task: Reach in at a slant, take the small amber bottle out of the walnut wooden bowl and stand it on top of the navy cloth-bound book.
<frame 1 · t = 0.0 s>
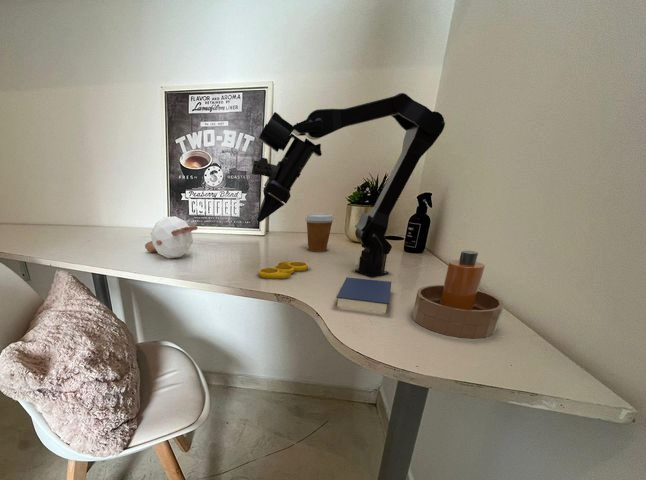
hand: (258, 218, 88), 15 cm above the table, tool tilted 35°, fingers open, 9 cm apart
wooden bowl: (451, 324, 62), on the table
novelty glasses: (283, 272, 94), on the table
book: (363, 300, 73), on the table
amber bottle: (451, 321, 62), point 1 cm above the table, touching wooden bowl
disposable coffee cup: (317, 250, 119), on the table
stuffed white mouse: (170, 257, 113), on the table
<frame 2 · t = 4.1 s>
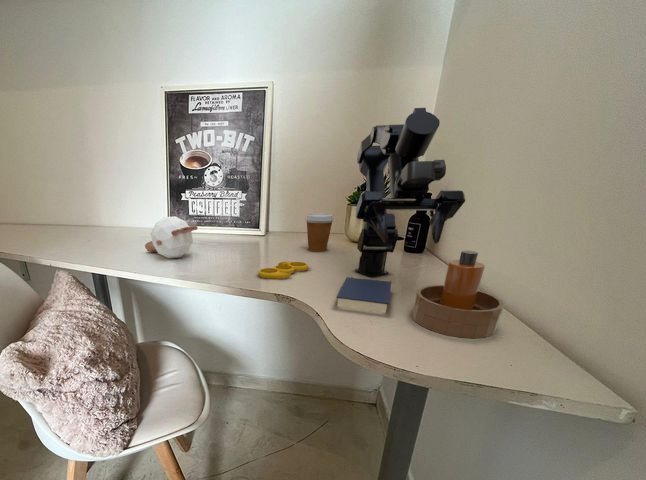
hand: (411, 242, 63), 14 cm above the table, tool tilted 45°, fingers open, 9 cm apart
nothing on the table moved.
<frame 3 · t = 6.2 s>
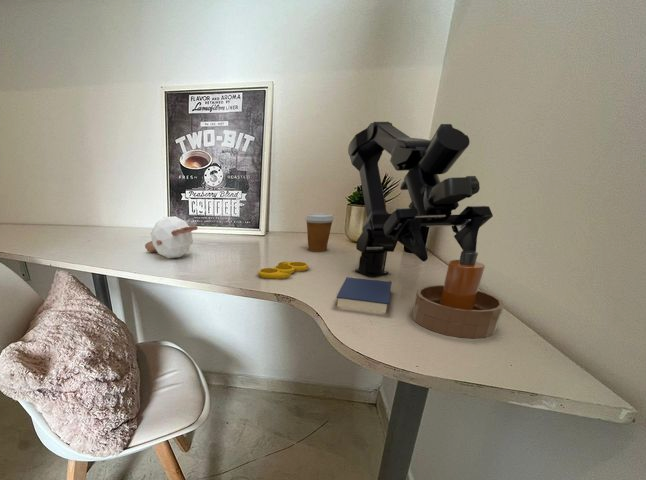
hand: (449, 259, 61), 11 cm above the table, tool tilted 45°, fingers open, 9 cm apart
nothing on the table moved.
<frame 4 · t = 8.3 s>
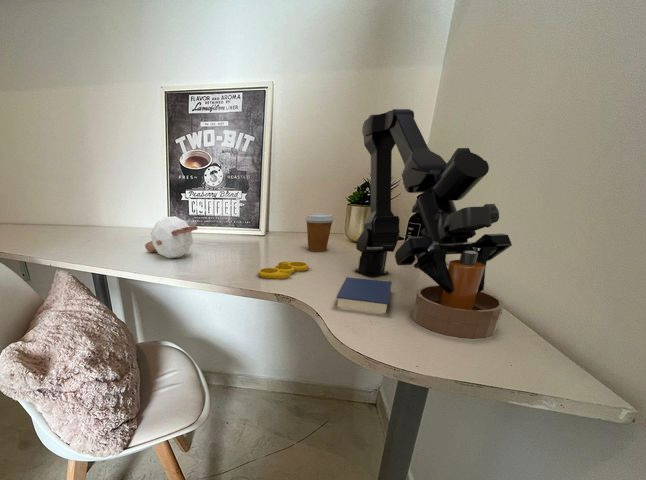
hand: (465, 291, 58), 7 cm above the table, tool tilted 45°, fingers closed on amber bottle, 5 cm apart
amber bottle: (451, 321, 62), point 1 cm above the table, touching gripper, wooden bowl
everything else where it was.
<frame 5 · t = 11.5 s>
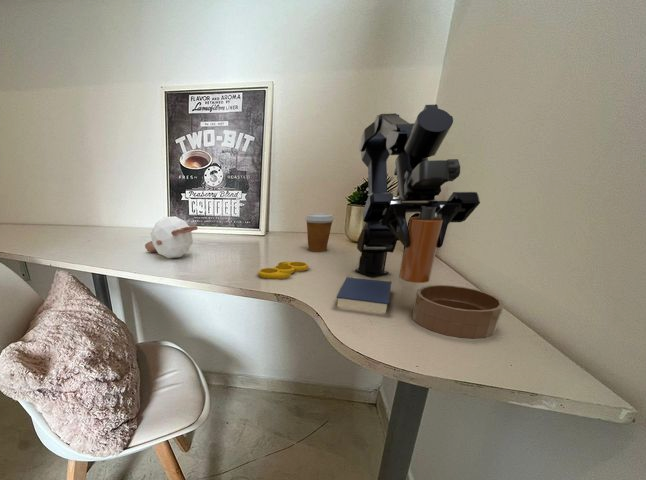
hand: (423, 246, 59), 14 cm above the table, tool tilted 45°, fingers closed on amber bottle, 5 cm apart
amber bottle: (414, 278, 63), point 8 cm above the table, touching gripper
everything else where it was.
when the fingers open (9 cm above the table, at t = 14.8 s): amber bottle stays where it is, resting on book.
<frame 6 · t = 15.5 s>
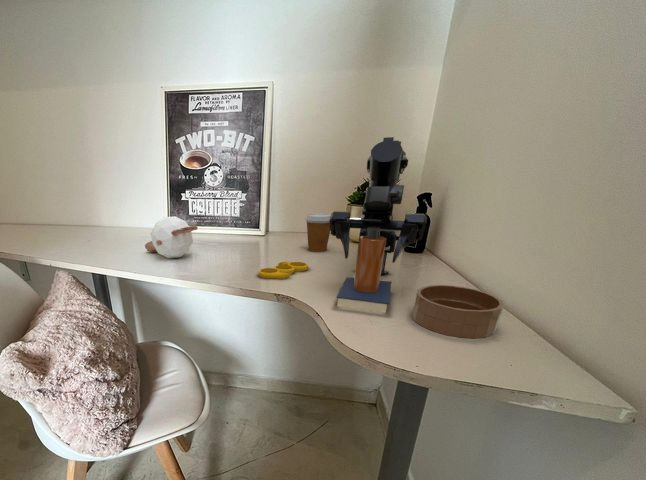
hand: (369, 259, 68), 10 cm above the table, tool tilted 45°, fingers open, 9 cm apart
amber bottle: (365, 288, 72), point 3 cm above the table, touching book
everything else where it was.
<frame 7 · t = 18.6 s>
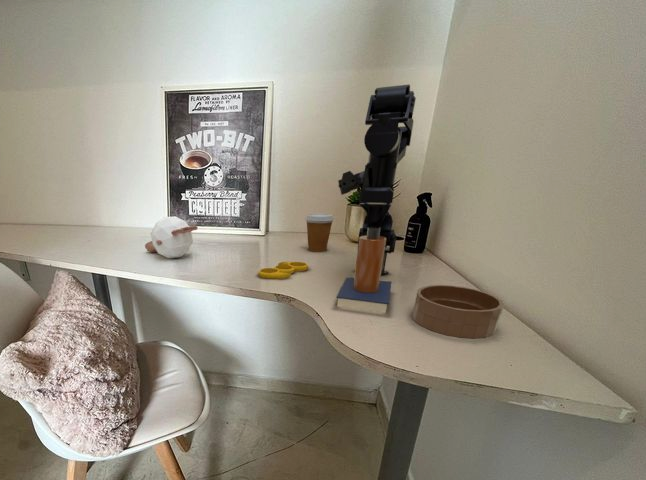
hand: (372, 233, 75), 13 cm above the table, tool pointing down, fingers open, 9 cm apart
nothing on the table moved.
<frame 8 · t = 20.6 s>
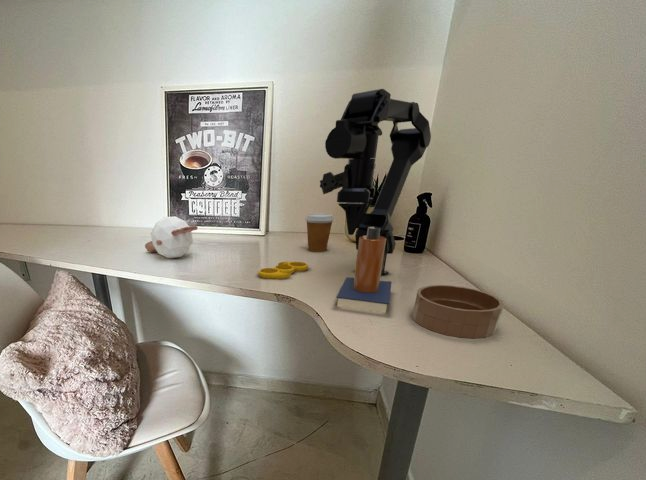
hand: (353, 231, 79), 13 cm above the table, tool pointing down, fingers open, 9 cm apart
nothing on the table moved.
at the end: amber bottle inside the target area on the book (0.0 cm from its centre), point 2.8 cm above the book's base; amber bottle tilted 0°; the gripper is holding nothing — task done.
